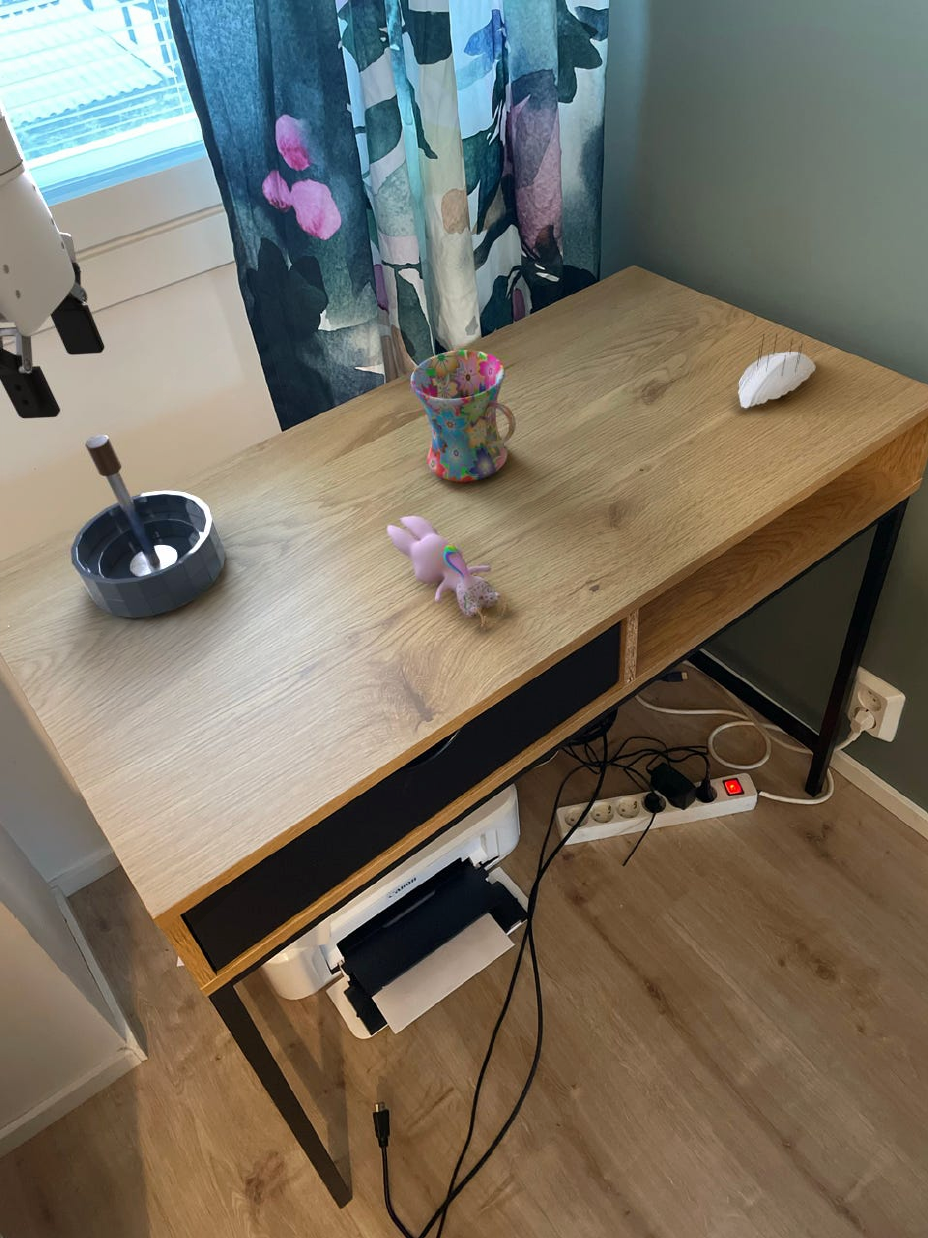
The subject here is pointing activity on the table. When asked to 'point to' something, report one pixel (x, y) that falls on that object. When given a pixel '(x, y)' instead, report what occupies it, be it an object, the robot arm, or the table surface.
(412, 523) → the rabbit figure
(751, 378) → the pincushion
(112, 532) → the bowl
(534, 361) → the table surface
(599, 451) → the table surface
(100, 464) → the wood-topped metal stand
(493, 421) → the mug
